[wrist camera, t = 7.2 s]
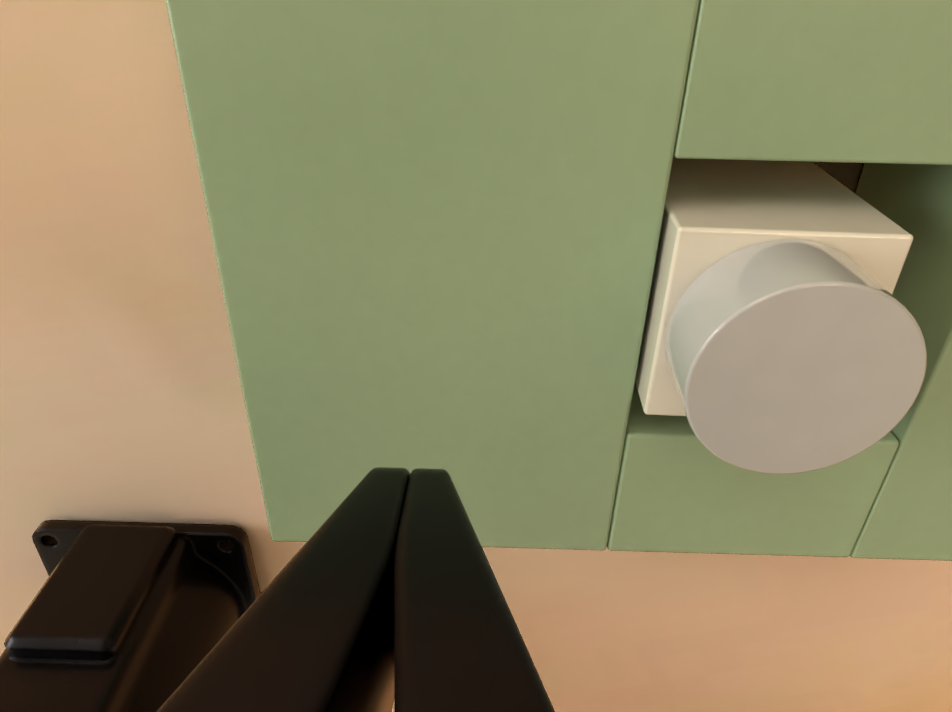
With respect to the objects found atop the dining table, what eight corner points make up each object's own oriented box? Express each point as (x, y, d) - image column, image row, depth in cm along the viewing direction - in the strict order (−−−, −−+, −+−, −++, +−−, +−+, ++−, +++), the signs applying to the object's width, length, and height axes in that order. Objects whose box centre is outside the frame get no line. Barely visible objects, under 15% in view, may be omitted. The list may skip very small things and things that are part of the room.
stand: (867, 435, 19) (963, 562, 15) (315, 421, 19) (270, 542, 15) (1075, -76, 13) (1334, -84, 9) (247, -94, 13) (140, -109, 9)
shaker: (629, 142, 15) (795, 147, 15) (608, 290, 17) (755, 295, 17) (703, 270, 9) (978, 281, 9) (659, 474, 11) (886, 485, 11)
